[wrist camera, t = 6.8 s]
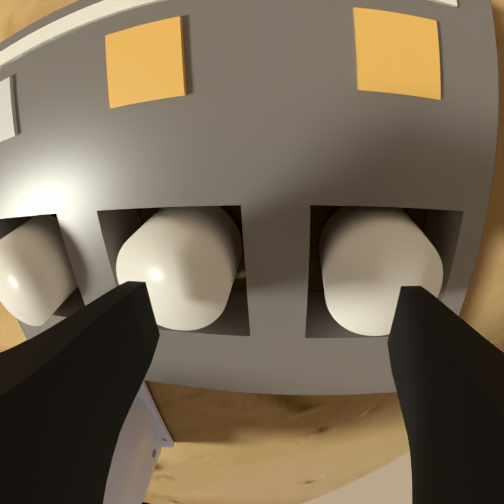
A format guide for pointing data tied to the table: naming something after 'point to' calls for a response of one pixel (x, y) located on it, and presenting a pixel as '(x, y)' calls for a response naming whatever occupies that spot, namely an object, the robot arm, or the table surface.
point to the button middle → (184, 263)
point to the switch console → (253, 156)
